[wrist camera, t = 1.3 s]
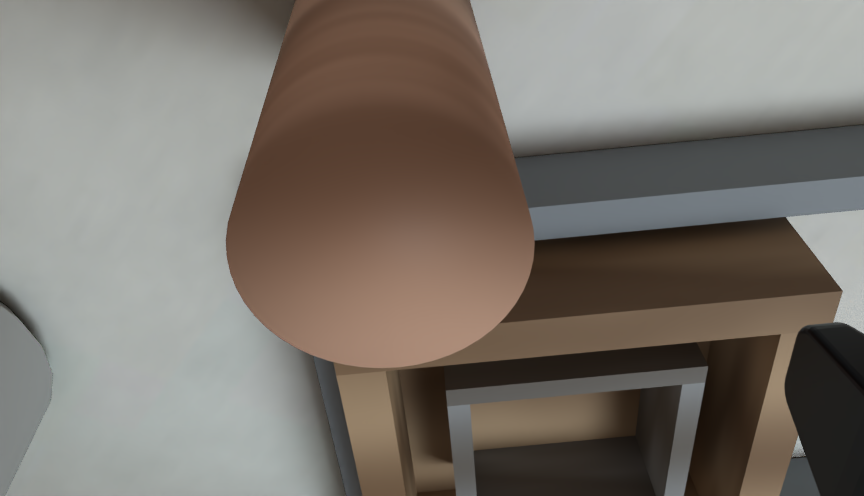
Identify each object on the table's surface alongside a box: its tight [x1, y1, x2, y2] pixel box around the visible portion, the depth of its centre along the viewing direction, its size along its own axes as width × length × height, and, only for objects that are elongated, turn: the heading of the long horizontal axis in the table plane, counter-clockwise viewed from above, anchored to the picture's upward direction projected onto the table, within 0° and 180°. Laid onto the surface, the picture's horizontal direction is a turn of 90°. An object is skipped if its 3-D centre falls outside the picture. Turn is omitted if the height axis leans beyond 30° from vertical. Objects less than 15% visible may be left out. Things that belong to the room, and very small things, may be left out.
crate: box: [333, 217, 843, 496], centre depth 23 cm, size 12×12×4 cm
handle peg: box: [226, 0, 535, 368], centre depth 14 cm, size 4×4×10 cm
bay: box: [313, 125, 864, 496], centre depth 24 cm, size 15×27×4 cm, turn 95°
